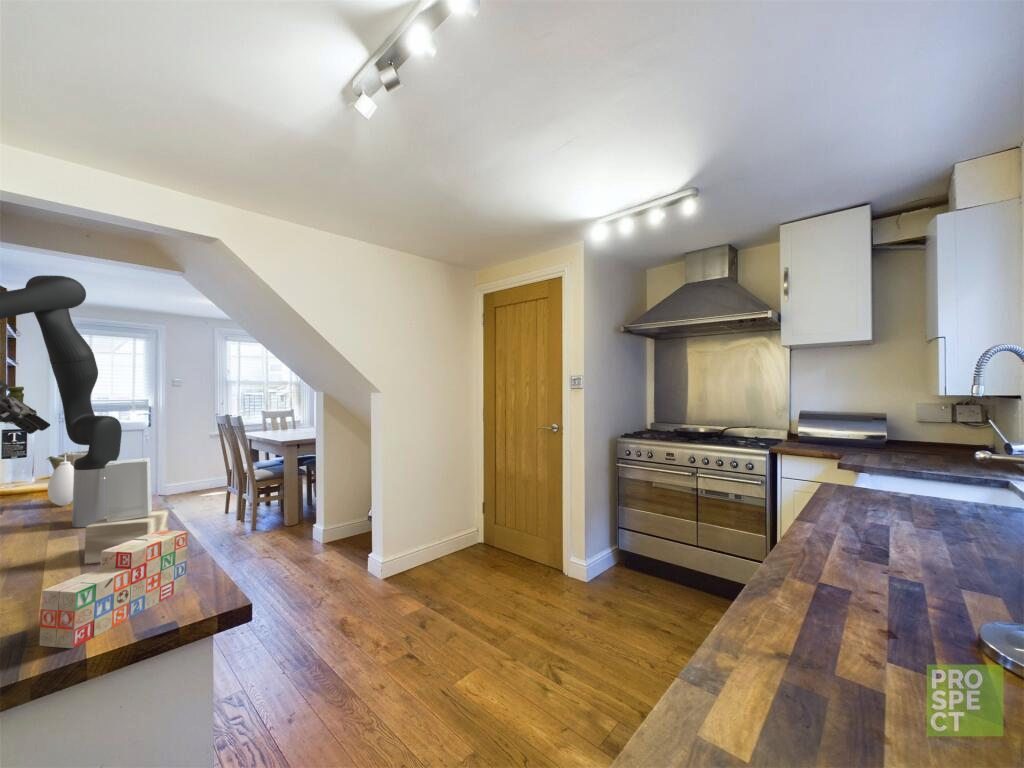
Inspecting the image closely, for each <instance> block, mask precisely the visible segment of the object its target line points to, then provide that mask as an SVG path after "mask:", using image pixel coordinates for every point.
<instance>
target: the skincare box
mask: <svg viewBox="0 0 1024 768" xmlns="http://www.w3.org/2000/svg"><path fill="white" fill-rule="evenodd" d="M151 469H152V468H151V457H141V458H131V459H121V460H119V459H117V460H116V461H110V462H108V463H107V464H106V465H105V484H106V513H107V523H108V522H114V521H121V520H128V519H135V518H143V517H148V516H149V515H150V513H151V511H152V510H153V507H152V503H153V501H152V500H153V499H152V478H151V477H152V475H151V474H152V473H151V471H152V470H151Z"/></svg>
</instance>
